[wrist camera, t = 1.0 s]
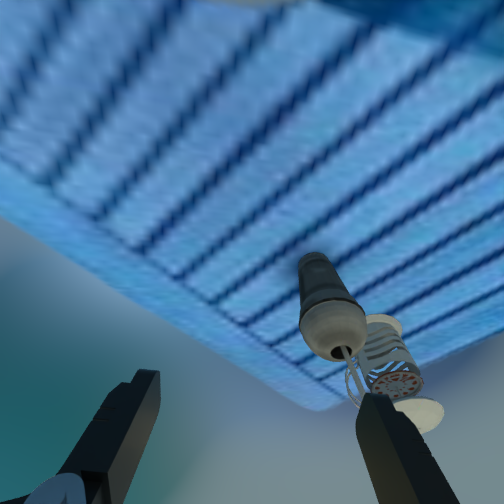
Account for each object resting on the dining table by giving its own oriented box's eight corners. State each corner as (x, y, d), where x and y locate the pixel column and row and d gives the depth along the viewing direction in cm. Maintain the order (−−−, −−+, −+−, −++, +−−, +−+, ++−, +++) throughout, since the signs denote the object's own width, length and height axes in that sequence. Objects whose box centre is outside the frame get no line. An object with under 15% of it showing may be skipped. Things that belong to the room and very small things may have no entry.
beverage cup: (308, 234, 37) (351, 358, 20) (349, 258, 39) (421, 390, 22) (279, 272, 41) (294, 405, 23) (318, 292, 42) (359, 430, 25)
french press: (402, 349, 48) (516, 555, 27) (336, 359, 50) (394, 560, 29) (402, 308, 44) (541, 520, 22) (329, 321, 45) (392, 529, 24)
